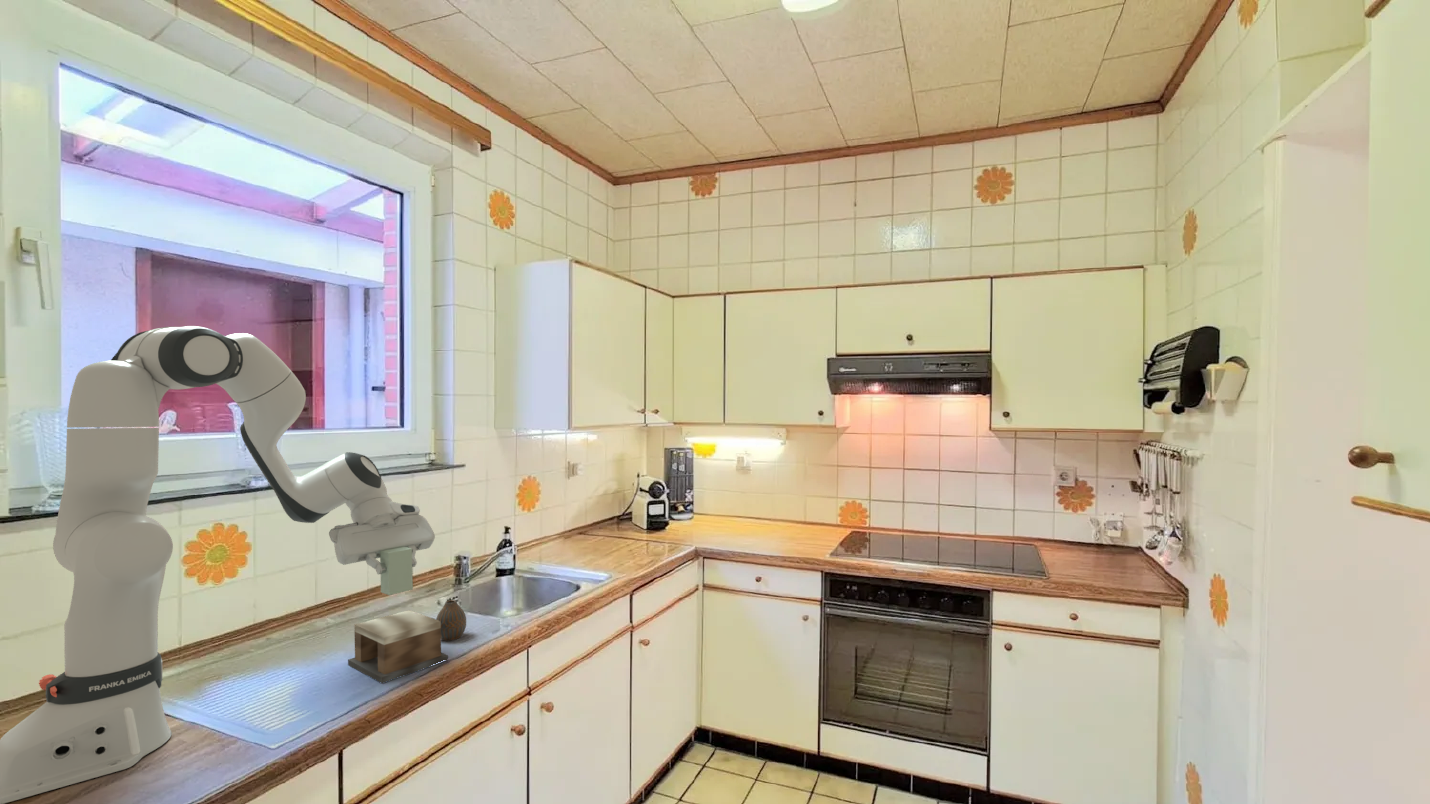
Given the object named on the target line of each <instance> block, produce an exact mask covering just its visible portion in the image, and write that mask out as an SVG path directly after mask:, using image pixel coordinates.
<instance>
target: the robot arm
mask: <svg viewBox="0 0 1430 804" xmlns="http://www.w3.org/2000/svg"><path fill="white" fill-rule="evenodd" d="M215 384H216V385H218V386H219V387H221V388H222V389H223V390H224V391H225V392H226V394H228V396H229V397H230V398H231V399H232V400H233V401H234V402H235V404H236V405H238V407H239V409H240V411H241V413H242V415H243V423H241V425H240V428H239V431H240V435H241V438H242V441H243V443H244V445H245V446H246V448H247V450H248V452H249V453H250V455H251V457H252V459H253V461H254V462H255V463H256V464H257V466H258V468H259V469H260V471H261V473H262V474H263V475H264V477H265V479H266V481H267V482H268V483H269V485H270V487H271V488H272V490H273V492H274V493H275V495H276V496H277V499H278V501H279V503H280V505H281V506H282V507H281V508H282V509H283V511H284V513H286V515H287V516H288V517H289V518H290V520H292V521H294V522H298V523H305V524H312V523H313V524H314V523H317V521H319V520H320V519H322V518H323V517H325V516H326V515H327V514H329V513H330V512H332V511H333V510H335V509H337V508H339V507H341V506H342V505H344V504H345V506H347V508H348V509H349V511H350V517H351V520H352V522H351V523H346V524H337V525H335V526H334V527H333V528H331V529H330V530H329V532H328V535H329V539H330V541H331V542H332V543H333V544H334V545H333V546H334V553H335V555H336V560H337V562H338V563H339V564H341V565H344V566H345V565H350V564H355V563H361V562H365V563H366V564H367V566H370V567H371V568H372V569H374V570H375V571H376V574H377V575H381V574H383V573H386V571H387V567H386V566H385V565H386V564H385V562H384V563H380V560H378V559H380V551H383V550H389V549H394V548H399V547H407V548H411V549H412V568H414V567H416V566H417V559H416V558H415V556H416V552H417V551H421V550H427V549H429V548H430V547H431V546H432V545H433V543H434V541H435V538H436V535H435V533H434V530H433V528H432V526H431V525H430V523H429V521H428V520H427V519H426V518H425V517H424V516H423V515H420V512H421V509H420V508H419V506H417V505H415V504H407V503H405V504H404V503H399V502H395V501H393V500H392V498H390V497H389V495H388V491H387V487H386V485H385V483H384V480H383V479H382V476H381V474H380V472H379V469H378V467H377V466H376V464H375V463H374V462H373V461H372V460H371V459H370V458H369V457H368V456H366V455H365V454H360V453H356V452H351V451H350V452H344V453H342V454H340V455H338V456H336V457H334V458H333V459H330V460H328V461H326V462H325V463H324V464H321V465H320V466H318V467H316V468H315V469H312V470H311V471H309V472H307V473H305V474H304V475H303V474H302V475H294V473H293V472H292V470H291V469H290V467H289V466H288V464H287V462H286V460H285V458H284V457H283V455H282V454H281V452H280V450H279V449H278V446H277V444H278V442H279V440H280V439H281V437H283V435H284V434H285V433H286V432H287V431H288V429H290V427H291V426H293V424H294V423H295V422H296V421H297V420H298V419H299V417H300V415H301V413H302V411H303V410H304V407H305V404H306V398H307V396H306V394H307V393H306V390H305V388H304V387H303V385H302V383H301V381H300V380H299V379H298V377H297V376H296V375H295V373H294V372H293V371H292V369H290V368H289V367H288V365H287V364H286V363H285V362H284V361H283V360H282V359H281V357H279V356H278V355H277V354H276V353H275V352H274V351H273V350H272V349H271V348H270V347H268V346H267V345H266V344H265V343H264V342H262V340H261V339H259V338H258V337H256V336H255V335H252V334H249V333H244V332H242V333H240V332H239V333H232V334H228V335H226V336H225V335H224V334H221V333H220V332H217V331H216V330H213V329H211V328H207V327H203V326H196V325H187V326H186V325H185V326H165V327H164V326H163V327H159V328H154V329H150V330H145V331H141V332H138V333H135V334H134V335H132V336H131V337H129V338H128V339H126V340H125V341H124V342H123V343H122V344H121V345H120V347H119V349H118V350H117V352H116V353H115V354H114V356H112V358H111V359H110V360H103V361H102V360H101V361H98V362H94V363H90V364H88V365H86V366H84V367H83V368H81V369H80V370H79V371H78V373H77V374H76V377H75V380H74V382H73V386H72V390H71V393H70V399H69V405H68V410H67V419H66V449H65V450H66V451H65V477H64V484H63V490H62V494H61V499H60V502H59V507H58V508H59V509H58V512H57V513H58V514H57V520H56V526H55V535H54V538H53V543H52V549H53V554H54V556H55V557H54V558H56V561H57V562H58V564H60V566H62V567H63V568H64V569H66V570H68V571H70V572H72V573H73V588H72V590H73V591H72V595H71V600H70V606H69V609H68V610H69V611H68V614H67V618H66V619H65V621H64V671H63V672H61V674H59V675H58V676H57V675H55V674H52V673H50V674H46V675H43V676H42V677H41V679H39V680H38V681H39V682H38V684H39V685H38V686H39V687H40V689H41V690H43V691H45V699H46V701H45V702H44V703H42V705H41V706H39V707H38V708H37V709H36V710H35V711H33V712H31V714H29V715H28V716H26V717H25V718H24V719H23V720H21V721H20V722H19V723H17V724H16V725H14V727H12V728H10V730H8V731H7V732H5V733H4V734H3V735H2V737H1V738H0V804H7V803H10V802H14V801H17V800H18V801H19V800H21V799H25V798H29V797H32V796H35V795H38V794H43V793H46V792H49V791H53V790H56V789H59V788H64V787H67V786H69V785H74V784H77V783H80V782H85V781H88V780H92V779H94V778H95V779H96V778H98V777H101V776H105V775H109V774H114V773H115V772H120V771H124V770H126V769H128V768H131V767H132V766H134V765H135V764H137V763H139V761H140V760H141V759H142V758H143V757H145V756H146V755H148V754H149V753H152V752H153V751H155V750H156V749H158V748H160V747H161V746H163V745H165V743H167V741H168V740H169V739H170V738H171V737H172V730H171V729H170V728H171V727H170V726H169V723H168V721H167V718H166V715H165V710H164V706H163V701H162V695H161V687H162V681H163V659H162V654H161V653H160V652H159V647H158V646H159V644H158V643H159V642H158V639H159V638H158V634H159V632H158V627H159V625H158V620H159V619H158V617H159V616H158V615H159V613H158V612H159V604H160V603H159V602H160V597H161V591H162V588H163V583H164V578H165V574H166V567H167V564H168V562H169V561H170V559H171V556H172V554H173V550H174V547H173V546H174V545H173V540H172V539H173V538H172V537H171V535H170V534H169V532H168V530H167V529H166V528H165V527H164V526H163V525H162V524H161V523H160V522H159V521H157V520H156V519H154V518H152V517H150V516H147V509H148V508H147V507H148V504H149V499H150V495H151V490H152V488H153V484H154V481H155V480H156V478H157V476H158V473H159V450H160V449H159V448H160V447H159V443H160V442H159V439H160V437H159V436H160V417H159V416H160V414H159V409H160V406H161V402H162V400H163V398H164V396H165V394H166V393H167V392H168V391H169V390H185V389H187V390H188V389H193V388H204V387H209V386H212V385H215Z"/></svg>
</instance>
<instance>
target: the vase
mask: <svg viewBox="0 0 1430 804" xmlns="http://www.w3.org/2000/svg"><path fill="white" fill-rule="evenodd" d="M435 618H436V620H438V621H441V641H446V642H450V641H455V640H458V639H460V638H461V636H463V634H464V633H465V630H466V627H467V615H466V613H465V611H464V609H463V608H462V607H461V606H460V605H459V604H458V602H457V600H455V599H451V600H447V601H445V603H444V604H443V606H442V608H441V609H440V611H439V612H438V613H437V616H436V617H435Z"/></svg>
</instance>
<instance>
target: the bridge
mask: <svg viewBox="0 0 1430 804" xmlns="http://www.w3.org/2000/svg"><path fill="white" fill-rule="evenodd" d="M353 627H354V657H351V658H349V659H347V666H349V667H350V668H352V669H355V670H357V671H359V672H360V673H362V674H364V675H366V676H367V675H368V676H367V677H369V676H370V677H369V678H371V677H372V678H371V679H373V680H375V679H376V680H377V682H378V681H379V683H380V682H381V683H380V684H384V683H383V682H385V683H386V681H388V682H390V681H392V680H391V679H393V680H395V679H394V678H396V679H398V678H397V677H399V678H401V677H400V676H402V677H404V676H403V675H405V676H408V675H410V673H411V674H413V672H414V673H416V672H415V671H417V672H419V671H418V670H420V671H421V669H422V670H424V669H423V668H425V669H427V668H426V667H428V668H430V667H429V666H431V665H433V664H436V663H438V662H441V661H443V660H447V659H448V660H449V655H448V654H446V653H444V652H442V639H441V621H438V620H436V619H435V618H433V617H430V616H427V615H424V614H423V613H418V612H416V611H415V610H414V611H413V610H411V609H408V610H404V611H400V612H396V613H393V614H389V615H386V616H382V617H378V618H374V619H370V620H366V621H362V622H358V623H355V624H354V625H353ZM431 667H432V666H431ZM376 680H375V681H376ZM389 680H390V681H389Z"/></svg>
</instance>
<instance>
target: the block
mask: <svg viewBox="0 0 1430 804" xmlns="http://www.w3.org/2000/svg"><path fill="white" fill-rule="evenodd" d="M379 559H380V560H379V562H380V563H384V562H385V564H386V565H385V566H386V567H387V571H386V573H383V574H380V593H382V594H385V595H388V596H392V595H398V594H400V593H405V592H408V591H413V590H414V589H413V588H414V587H413V585H414V584H413V580H414V579H413V567H412V549H411V548H407V547H399V548H394V549H389V550H383V551H380V558H379Z"/></svg>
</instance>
